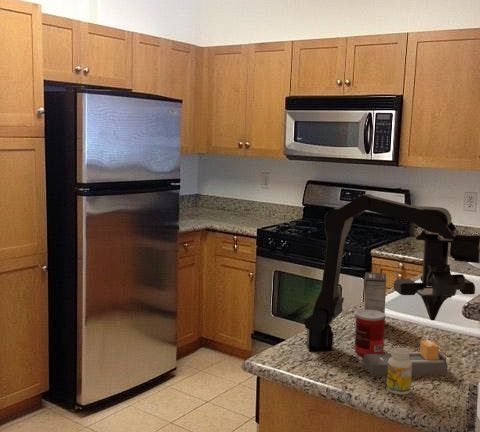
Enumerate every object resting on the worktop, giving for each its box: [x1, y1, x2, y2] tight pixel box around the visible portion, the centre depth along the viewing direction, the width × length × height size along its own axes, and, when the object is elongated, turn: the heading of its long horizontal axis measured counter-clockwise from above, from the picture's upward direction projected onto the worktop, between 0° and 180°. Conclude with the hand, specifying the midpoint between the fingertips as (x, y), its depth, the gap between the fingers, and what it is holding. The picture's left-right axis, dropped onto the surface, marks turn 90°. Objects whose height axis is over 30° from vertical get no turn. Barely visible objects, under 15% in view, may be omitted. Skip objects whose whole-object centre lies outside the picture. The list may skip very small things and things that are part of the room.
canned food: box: [354, 309, 386, 358], centre depth 154 cm, size 8×8×11 cm
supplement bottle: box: [386, 347, 412, 396], centre depth 131 cm, size 5×5×10 cm
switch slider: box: [419, 339, 440, 360], centre depth 143 cm, size 3×4×4 cm
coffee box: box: [363, 272, 387, 315], centre depth 175 cm, size 9×6×16 cm
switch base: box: [363, 351, 448, 378], centre depth 143 cm, size 19×7×4 cm, turn 94°
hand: (432, 319), depth 142 cm, fingers closed
